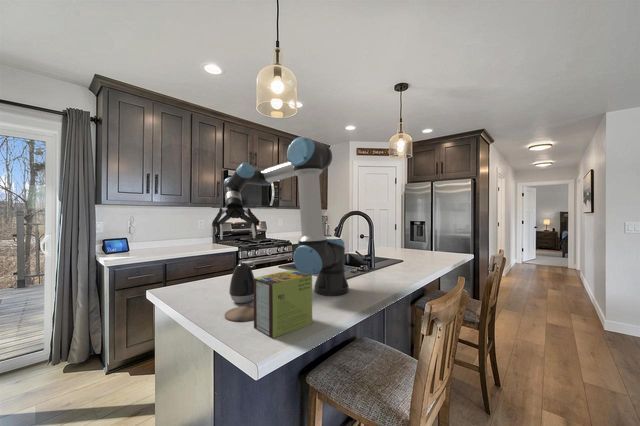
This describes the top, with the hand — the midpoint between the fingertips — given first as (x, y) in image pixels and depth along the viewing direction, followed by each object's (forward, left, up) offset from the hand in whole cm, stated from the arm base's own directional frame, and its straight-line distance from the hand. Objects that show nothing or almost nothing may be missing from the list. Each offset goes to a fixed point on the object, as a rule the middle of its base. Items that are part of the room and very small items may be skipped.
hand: (238, 237), depth 118 cm
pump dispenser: (-3, +10, -25) cm, 27 cm away
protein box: (-18, +36, -25) cm, 47 cm away
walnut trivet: (-5, +24, -24) cm, 35 cm away
